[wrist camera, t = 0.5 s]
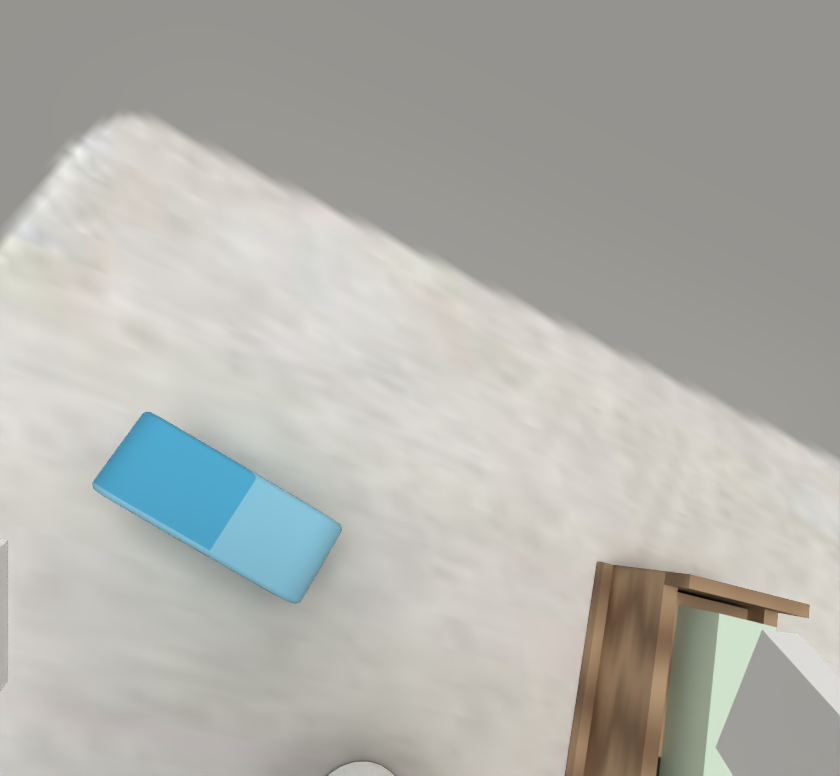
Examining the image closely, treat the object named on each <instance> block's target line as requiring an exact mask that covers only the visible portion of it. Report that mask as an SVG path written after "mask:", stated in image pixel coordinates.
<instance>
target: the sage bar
mask: <svg viewBox="0 0 840 776" xmlns="http://www.w3.org/2000/svg"><path fill="white" fill-rule="evenodd" d="M762 630H770V631H777V627H773V626H769V625H765V624H761V623H757V622H753V621H748V620H744V619H740V618H736V617H732V616H728V615H724V614H720V613H715V612H710V611H705V610H700V609H695V608H690V607H686V606H681V605H678V614H677V623H676V631H675V640H674V649H673V657H672V666H671V675H670V683H669V692H668V701H667V709H666V718H665V727H664V735H663V744H662V753H661V761H660V770H659V776H733V774H732V773H731V771H730V770H729V768H728V766H727V765H726V763H725V762H724V760H723V759H722V757H721V755H720V754H719V752H718V751H717V749H716V745H717V742H718V740H719V737H720V735H721V732H722V730H723V727H724V725H725V722H726V719H727V717H728V714H729V712H730V709H731V707H732V704H733V702H734V699H735V697H736V694H737V692H738V689H739V687H740V684H741V682H742V679H743V676H744V674H745V671H746V669H747V666H748V664H749V661H750V659H751V656H752V654H753V651H754V649H755V646H756V644H757V641H758V639H759V636H760V634H761V631H762Z"/></svg>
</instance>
